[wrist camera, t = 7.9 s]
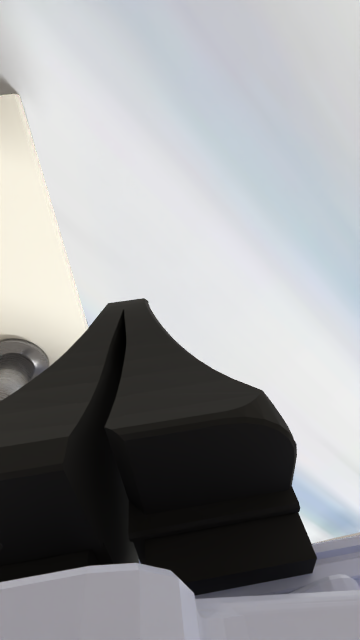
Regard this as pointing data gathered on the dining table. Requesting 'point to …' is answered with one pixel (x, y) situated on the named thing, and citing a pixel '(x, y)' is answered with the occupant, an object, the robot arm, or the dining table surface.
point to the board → (32, 247)
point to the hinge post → (19, 364)
